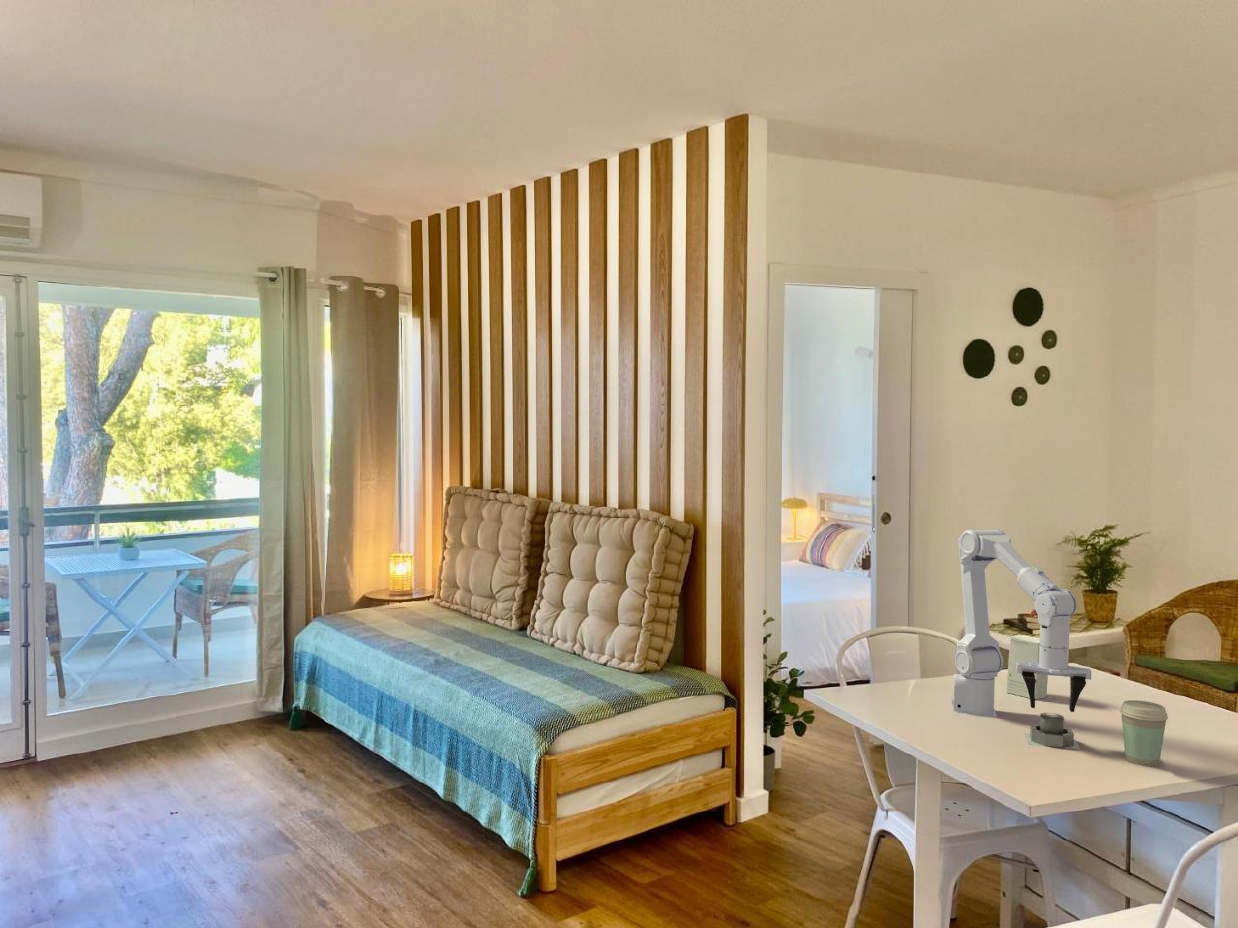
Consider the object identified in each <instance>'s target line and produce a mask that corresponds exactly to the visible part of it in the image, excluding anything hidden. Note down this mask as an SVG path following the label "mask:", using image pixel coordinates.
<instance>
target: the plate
mask: <svg viewBox="0 0 1238 928" xmlns="http://www.w3.org/2000/svg"><path fill="white" fill-rule="evenodd" d="M1024 736H1025V739H1026V742H1027V745H1031V746H1041V747H1044V746H1043V745H1041V744H1038V743H1035V742H1032V741H1031V738H1030V732H1029V733H1028V732H1027V733H1025V732H1024ZM1047 747H1049V746H1047ZM1056 748H1058V747H1056ZM1064 749H1067V750H1075V751H1076V750H1079V751H1080V750H1081V749H1080V747H1079V745H1078V743H1077V741H1076V739H1075V738H1074V746H1070V747H1065V748H1064Z"/></svg>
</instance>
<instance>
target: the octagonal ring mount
mask: <svg viewBox="0 0 1238 928" xmlns="http://www.w3.org/2000/svg"><path fill="white" fill-rule="evenodd" d="M1029 725H1030V724H1029ZM1029 734H1030V738H1031V741H1032V742H1035V743H1038V744H1041V745H1043V746H1042V747H1048V746H1049V747H1050V748H1057V747H1058V748H1059V749H1066V748H1065V747H1070V746H1074V739H1075V733H1074V732H1073V729H1071V728H1068V727H1065V726H1064V732H1063V734H1061V735H1059V734H1050V733H1045V732H1042V731H1040V723H1036V724H1031V725H1030V727H1029Z"/></svg>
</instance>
